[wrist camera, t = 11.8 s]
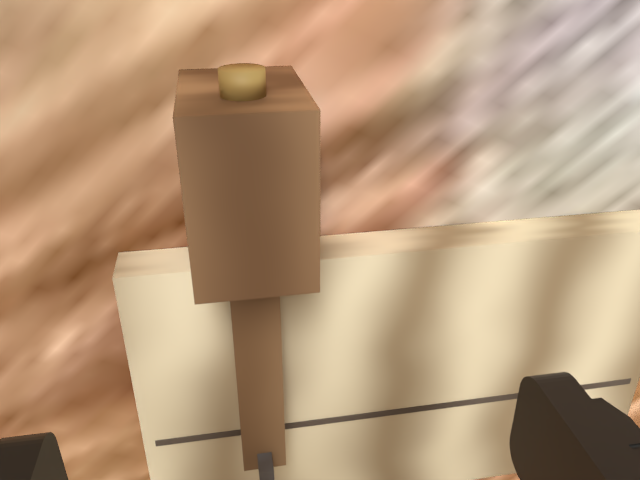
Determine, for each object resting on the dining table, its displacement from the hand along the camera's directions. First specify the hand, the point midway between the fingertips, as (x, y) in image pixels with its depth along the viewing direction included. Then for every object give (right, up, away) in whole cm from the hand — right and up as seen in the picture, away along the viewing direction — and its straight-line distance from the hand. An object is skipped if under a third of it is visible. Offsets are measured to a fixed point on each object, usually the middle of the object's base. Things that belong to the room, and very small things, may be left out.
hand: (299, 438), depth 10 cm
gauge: (-3, +3, +15) cm, 15 cm away
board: (+4, -2, +19) cm, 19 cm away
